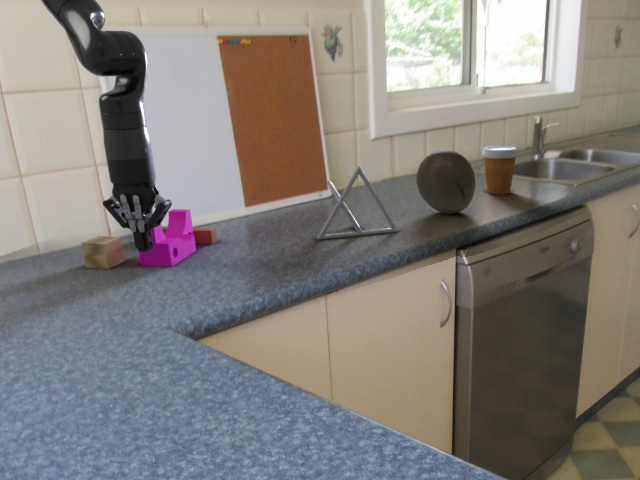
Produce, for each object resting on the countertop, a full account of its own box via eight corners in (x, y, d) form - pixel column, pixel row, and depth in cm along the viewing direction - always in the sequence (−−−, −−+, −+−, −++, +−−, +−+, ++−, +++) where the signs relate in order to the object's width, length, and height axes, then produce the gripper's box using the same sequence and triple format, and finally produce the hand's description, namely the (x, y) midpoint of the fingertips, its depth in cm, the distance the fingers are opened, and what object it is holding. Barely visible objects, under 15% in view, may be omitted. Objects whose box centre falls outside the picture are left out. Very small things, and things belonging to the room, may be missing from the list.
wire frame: (326, 243, 156) (382, 207, 156) (338, 269, 145) (399, 231, 145) (284, 183, 145) (345, 145, 145) (295, 207, 135) (360, 166, 134)
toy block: (171, 266, 125) (166, 228, 122) (141, 266, 126) (134, 227, 123) (206, 245, 138) (201, 209, 136) (178, 244, 139) (173, 209, 137)
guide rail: (143, 241, 142) (140, 227, 141) (148, 238, 144) (146, 225, 143) (212, 244, 138) (210, 230, 137) (217, 242, 140) (215, 228, 139)
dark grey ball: (476, 207, 166) (477, 146, 161) (472, 221, 153) (473, 155, 148) (421, 206, 168) (420, 146, 163) (412, 219, 155) (411, 155, 150)
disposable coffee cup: (517, 189, 186) (519, 145, 182) (514, 196, 178) (516, 150, 173) (483, 188, 188) (484, 145, 184) (479, 195, 180) (480, 150, 175)
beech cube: (85, 268, 125) (80, 242, 123) (103, 260, 129) (98, 235, 128) (108, 269, 124) (104, 244, 122) (125, 261, 128) (121, 236, 127)
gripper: (175, 152, 117) (188, 246, 123) (109, 151, 120) (125, 243, 126) (151, 158, 110) (166, 258, 116) (82, 157, 113) (100, 254, 119)
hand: (144, 250), depth 121 cm, fingers closed
